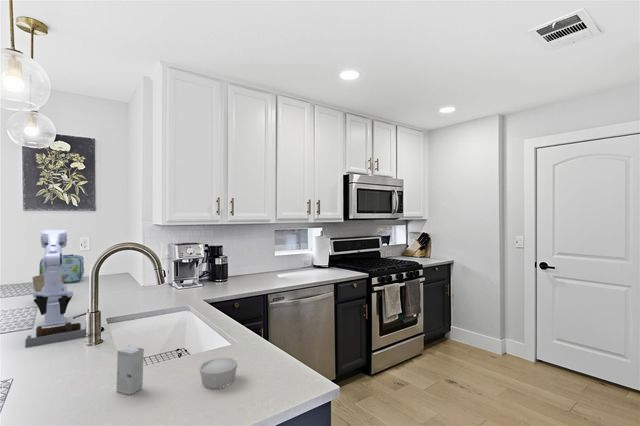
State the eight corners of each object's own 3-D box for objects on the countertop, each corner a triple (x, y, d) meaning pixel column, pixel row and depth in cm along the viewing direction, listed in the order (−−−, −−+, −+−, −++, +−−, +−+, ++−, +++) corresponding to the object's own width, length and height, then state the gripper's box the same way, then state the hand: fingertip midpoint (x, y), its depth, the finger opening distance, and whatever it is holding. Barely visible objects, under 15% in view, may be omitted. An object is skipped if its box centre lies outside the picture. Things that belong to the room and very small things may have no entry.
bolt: (80, 335, 150) (36, 343, 139) (78, 327, 153) (35, 334, 142) (82, 325, 148) (37, 332, 137) (80, 317, 151) (36, 323, 141)
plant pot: (64, 304, 193) (64, 276, 193) (30, 308, 184) (30, 279, 184) (66, 298, 205) (66, 272, 205) (34, 302, 197) (34, 275, 197)
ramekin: (207, 373, 110) (207, 356, 110) (241, 373, 110) (241, 357, 110) (193, 391, 99) (193, 373, 99) (231, 391, 99) (231, 373, 99)
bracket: (28, 341, 137) (28, 334, 137) (87, 331, 148) (87, 324, 148) (25, 347, 131) (25, 339, 131) (88, 336, 143) (88, 329, 143)
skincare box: (115, 391, 99) (115, 350, 99) (129, 384, 103) (129, 344, 103) (130, 395, 96) (130, 353, 96) (144, 388, 101) (144, 347, 101)
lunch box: (85, 279, 263) (85, 252, 263) (82, 282, 253) (81, 254, 253) (43, 282, 252) (43, 254, 252) (38, 285, 242) (38, 256, 242)
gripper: (27, 284, 138) (27, 317, 138) (65, 283, 139) (65, 316, 139) (40, 280, 145) (40, 312, 145) (75, 279, 146) (76, 311, 146)
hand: (53, 314), depth 142 cm, fingers open, 7 cm apart
